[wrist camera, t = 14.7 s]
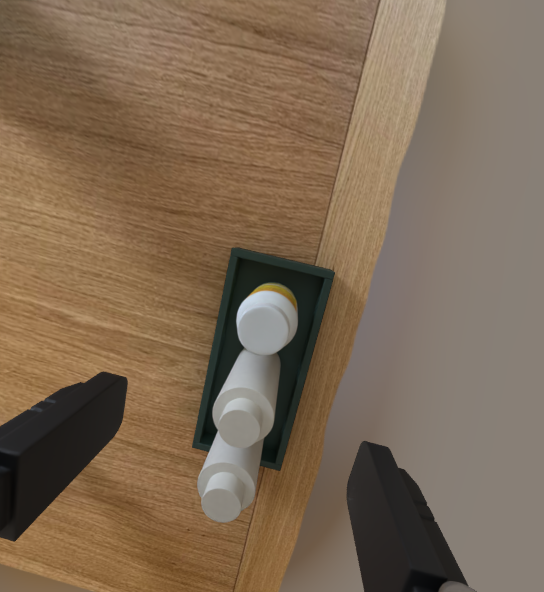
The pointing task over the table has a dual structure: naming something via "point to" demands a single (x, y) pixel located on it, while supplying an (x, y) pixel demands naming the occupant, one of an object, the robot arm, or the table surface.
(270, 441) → the tray
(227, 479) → the white bottles
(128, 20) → the table surface
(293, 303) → the supplement bottle
